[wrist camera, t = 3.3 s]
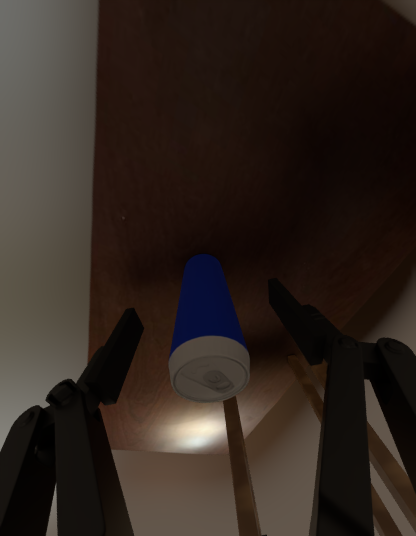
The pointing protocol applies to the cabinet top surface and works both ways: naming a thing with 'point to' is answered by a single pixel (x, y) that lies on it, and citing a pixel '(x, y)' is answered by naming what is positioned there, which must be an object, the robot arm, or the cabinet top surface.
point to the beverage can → (207, 337)
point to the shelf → (379, 455)
